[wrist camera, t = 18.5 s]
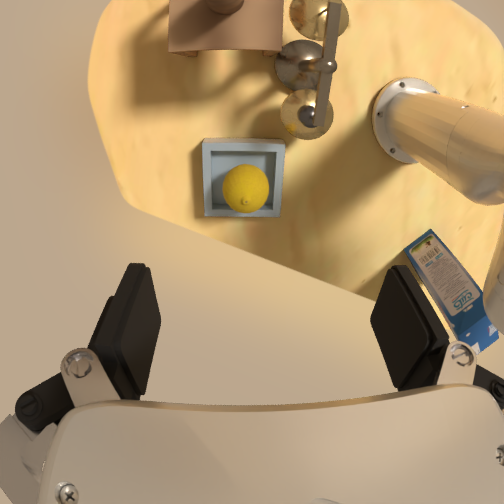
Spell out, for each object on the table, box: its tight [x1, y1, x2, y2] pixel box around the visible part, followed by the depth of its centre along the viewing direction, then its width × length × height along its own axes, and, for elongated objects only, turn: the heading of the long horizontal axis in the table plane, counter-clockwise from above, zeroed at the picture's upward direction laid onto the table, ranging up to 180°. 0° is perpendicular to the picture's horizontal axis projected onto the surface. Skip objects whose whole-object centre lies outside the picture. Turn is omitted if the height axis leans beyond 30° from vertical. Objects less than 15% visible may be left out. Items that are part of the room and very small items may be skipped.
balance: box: [275, 0, 349, 140], centre depth 26 cm, size 7×18×14 cm, turn 178°
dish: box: [202, 138, 285, 217], centre depth 39 cm, size 10×10×3 cm
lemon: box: [222, 164, 269, 213], centre depth 36 cm, size 6×6×8 cm
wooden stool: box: [168, 0, 284, 57], centre depth 22 cm, size 10×10×16 cm
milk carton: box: [403, 229, 499, 355], centre depth 40 cm, size 10×6×20 cm, turn 43°
